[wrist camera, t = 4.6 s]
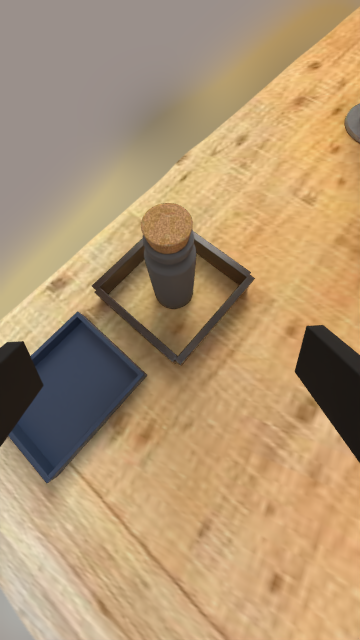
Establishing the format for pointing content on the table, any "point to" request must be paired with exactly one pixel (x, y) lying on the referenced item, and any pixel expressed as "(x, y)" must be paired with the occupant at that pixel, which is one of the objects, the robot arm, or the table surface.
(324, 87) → the table surface
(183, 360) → the dark brown square frame
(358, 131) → the mate gourd
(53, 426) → the tray
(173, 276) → the bottle
